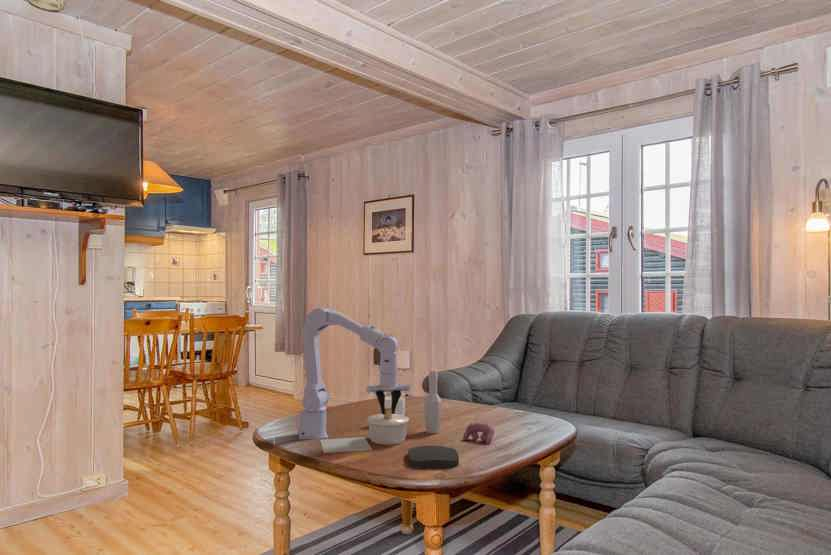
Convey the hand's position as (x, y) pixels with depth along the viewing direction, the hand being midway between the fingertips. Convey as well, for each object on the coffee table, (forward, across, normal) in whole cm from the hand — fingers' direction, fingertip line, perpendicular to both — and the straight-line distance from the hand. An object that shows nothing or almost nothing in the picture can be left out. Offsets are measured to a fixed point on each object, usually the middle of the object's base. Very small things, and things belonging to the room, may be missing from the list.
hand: (387, 413), depth 189 cm
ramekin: (+10, 0, 0) cm, 10 cm away
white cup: (+9, +7, +21) cm, 24 cm away
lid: (+2, 0, 0) cm, 2 cm away
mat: (+9, -14, -2) cm, 17 cm away
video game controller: (+10, +30, -6) cm, 32 cm away
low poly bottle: (+9, +18, +8) cm, 22 cm away
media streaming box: (+10, +9, -23) cm, 27 cm away
